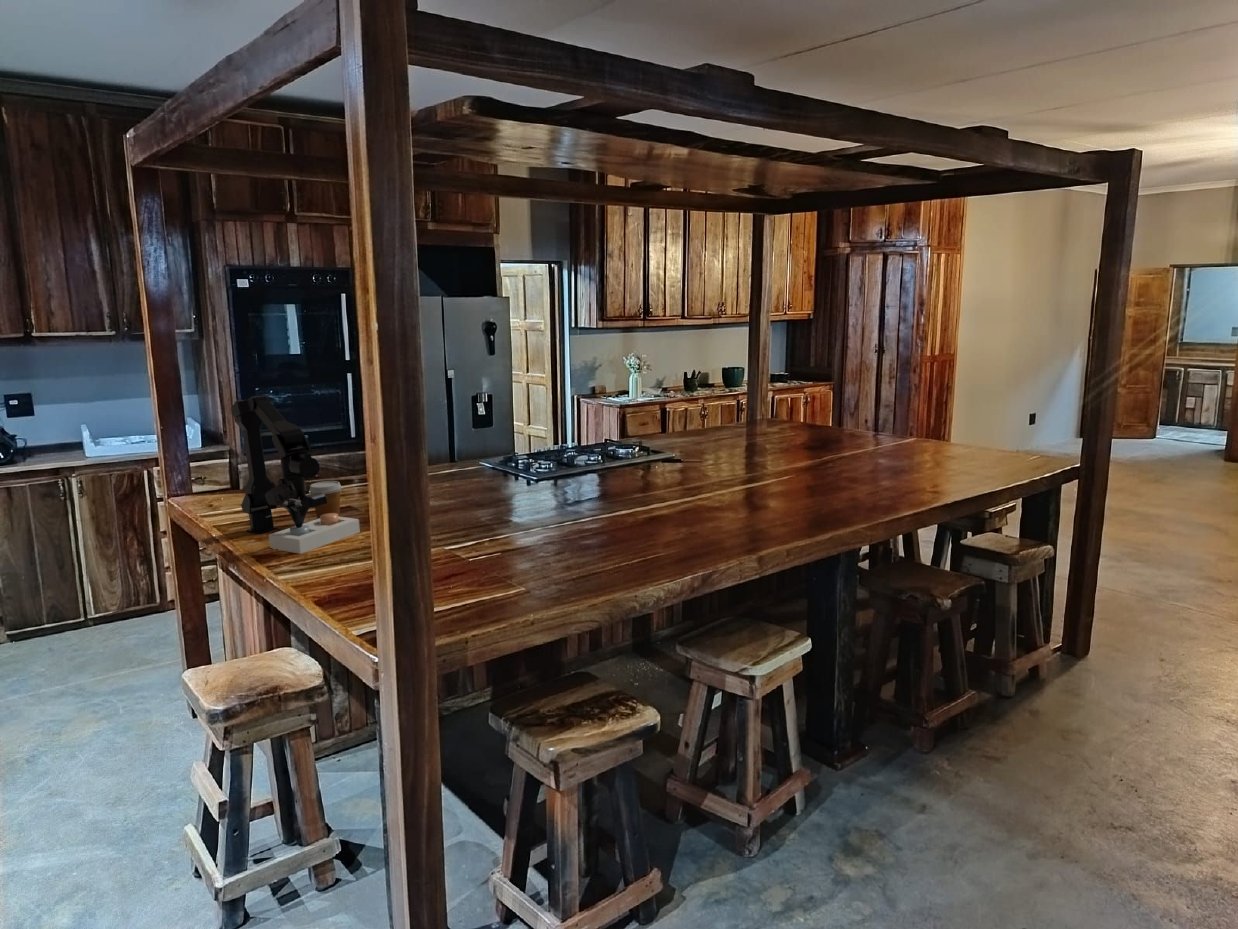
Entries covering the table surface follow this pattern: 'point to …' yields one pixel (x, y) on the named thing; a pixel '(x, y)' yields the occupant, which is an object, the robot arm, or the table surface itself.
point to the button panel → (314, 535)
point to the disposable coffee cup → (333, 497)
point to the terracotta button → (329, 519)
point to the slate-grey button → (299, 530)
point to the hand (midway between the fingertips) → (299, 527)
